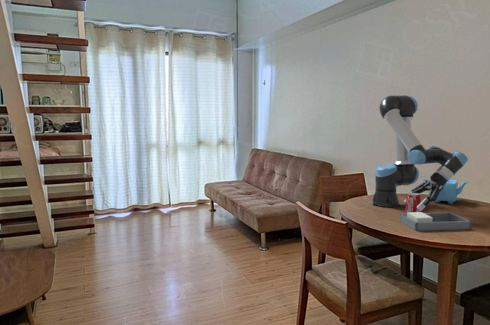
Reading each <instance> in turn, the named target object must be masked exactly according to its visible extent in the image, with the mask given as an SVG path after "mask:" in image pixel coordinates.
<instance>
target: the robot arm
mask: <svg viewBox="0 0 490 325" xmlns="http://www.w3.org/2000/svg"><path fill="white" fill-rule="evenodd" d="M418 106H419V105H418V101H417V100H416V98H414V97H413V96H410V95H388V96H385V97H384V98H383V99H382V100H381V101H380V104H379V114H380V115H381V117H382V119H383V121H386V122H387V123H388V124H389V126H390V127H391V128H392V130H393V132H394V133H395V134H394V136H395V161H394V162H393V164H382V165H378V166H377V167H376V168H375V187H374V188H375V189H374V190H375V191H374V194H373V198H372V200H371V204H372V203H373V204H375V205H379V206H378V207H380V206H385V207H384V208H395V207H399V206H400V201H399V200H400V199H399V196H398V194H397V187H401V186H410V185H413V184H415V183H417V181H418V179H419V177H420V171H419V169H418V167H417V166H416V165H419V166H420V165H425V164H438V165H441V166H439V167H438V168H437V169H436V171H435V172H433V174H432V175H431V176H430V177H429V179H430V180H429V182H428V181H427V180H428V179H427V180H423V181H422V182H421V183H420V184H419V185H417V186H415V187H413V189H411V191H410V192H411V193H418V194H420V195H421V194H423V193H424V192H428V195H427V196H426V197H425V198H424V199H423V200H421V203H420V204H419V205H418V206H417V208H418V209H419V210H420V211H421V212H422V211H423V210H424V209H425V208H426V207H427V206H428V205H429V204H430V203H432V202H434V203H436V202H435V201H436V199H437V197H438V195H439V193H440V191H441V190H442V189H443V186H444V185H445V184H446V183H447V181H449V180H452V178H453V176H455V175H456V174H457V173H458V172H459V170H461V169H462V168H463V167H464V166H465V165H466V164H467V162H469V158H468V156H467V155H466V154H465V153H463V152H462V151H460V150H456V151H454V152H453V153H452V152H449V151H447V150H445V149H443V148H441V147H438V146H434V145H433V146H431V147H428V149H427V148H425V146H423V144H422V143H421V141H420V140H419V138H418V137H417V136H416V135H415V133H414V132H413V131H412V129H411V128H412V123H411V121H412V120H413V119H414V114H416V113H417V111H418ZM403 203H404V204H406V199H404V201H403ZM373 204H372V205H373ZM375 205H374V206H375Z"/></svg>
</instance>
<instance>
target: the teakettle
mask: <svg viewBox="0 0 490 325" xmlns="http://www.w3.org/2000/svg"><path fill="white" fill-rule="evenodd" d="M422 180H423V181H425V180H427V181H428V182H429V181H430V180H429V179H427V178H423V179H422ZM458 183H459V182H458V179H450V180H449V181H447V183H446V184H445V185H444V186H443V189H442V190H441V191H440V193H439V195H438V197H437V199H436V201H435V202H434V203H441V201H442V202H447V203H448V204H450V205H453V204H454V203H455V202H456V201H457V198H458V195H460V194H461V193H462V191H463V189H464V188H465V185H467V184H469V183H470V181H463V182H462V183H461V184H460V186H459V188H458Z"/></svg>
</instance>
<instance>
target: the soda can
mask: <svg viewBox="0 0 490 325" xmlns="http://www.w3.org/2000/svg"><path fill="white" fill-rule="evenodd" d="M420 195H421V193H420V194H418V193H412V192H407V195H406V196H405V200H406V203H405V214H407V212H422V211H420V210H419V209H418V208H417V206H418V205H419V204H420V203H421V202H422V197H421V196H420Z"/></svg>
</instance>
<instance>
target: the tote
mask: <svg viewBox="0 0 490 325" xmlns="http://www.w3.org/2000/svg"><path fill="white" fill-rule="evenodd" d="M423 213H424V214H426V215H428V216H430V217H432V218H433V220H432V222H420V223H417V222H415V221H413V220H411V219H410V218H408V217H407V214H406V213H400V214H399V222H401V223H402V224H404V225H406V226H407V227H408V228H411V230H413V231H415V232H417V231H418V232H422V231H423V232H424V231H451V230H452V231H454V230H455V231H456V230H461V231H462V230H471V229H472V220H468V219H466V218H463V217H462V216H460V215H457V214H455V213H453V212H434V213H433V212H428V213H427V212H426V213H425V212H423Z"/></svg>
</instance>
